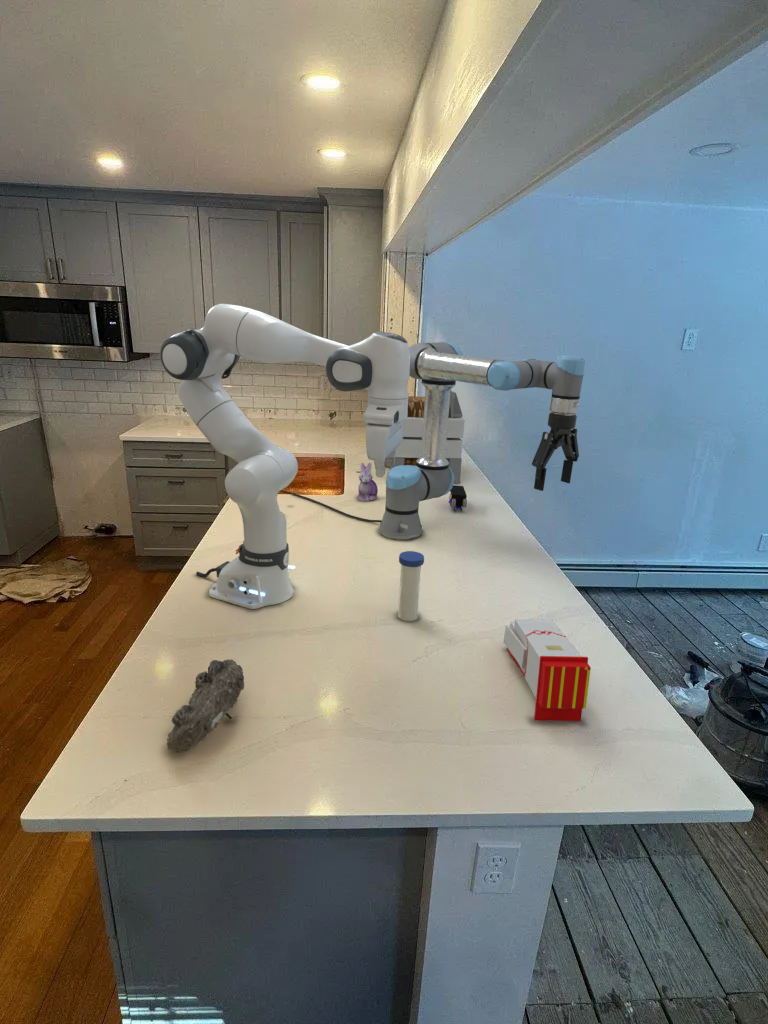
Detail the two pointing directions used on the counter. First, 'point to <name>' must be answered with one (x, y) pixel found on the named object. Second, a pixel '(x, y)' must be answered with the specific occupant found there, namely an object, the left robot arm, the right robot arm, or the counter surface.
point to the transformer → (413, 433)
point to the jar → (409, 593)
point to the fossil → (206, 705)
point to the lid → (411, 559)
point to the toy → (549, 668)
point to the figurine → (367, 484)
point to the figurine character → (458, 497)
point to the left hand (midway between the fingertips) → (385, 470)
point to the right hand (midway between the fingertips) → (552, 485)
